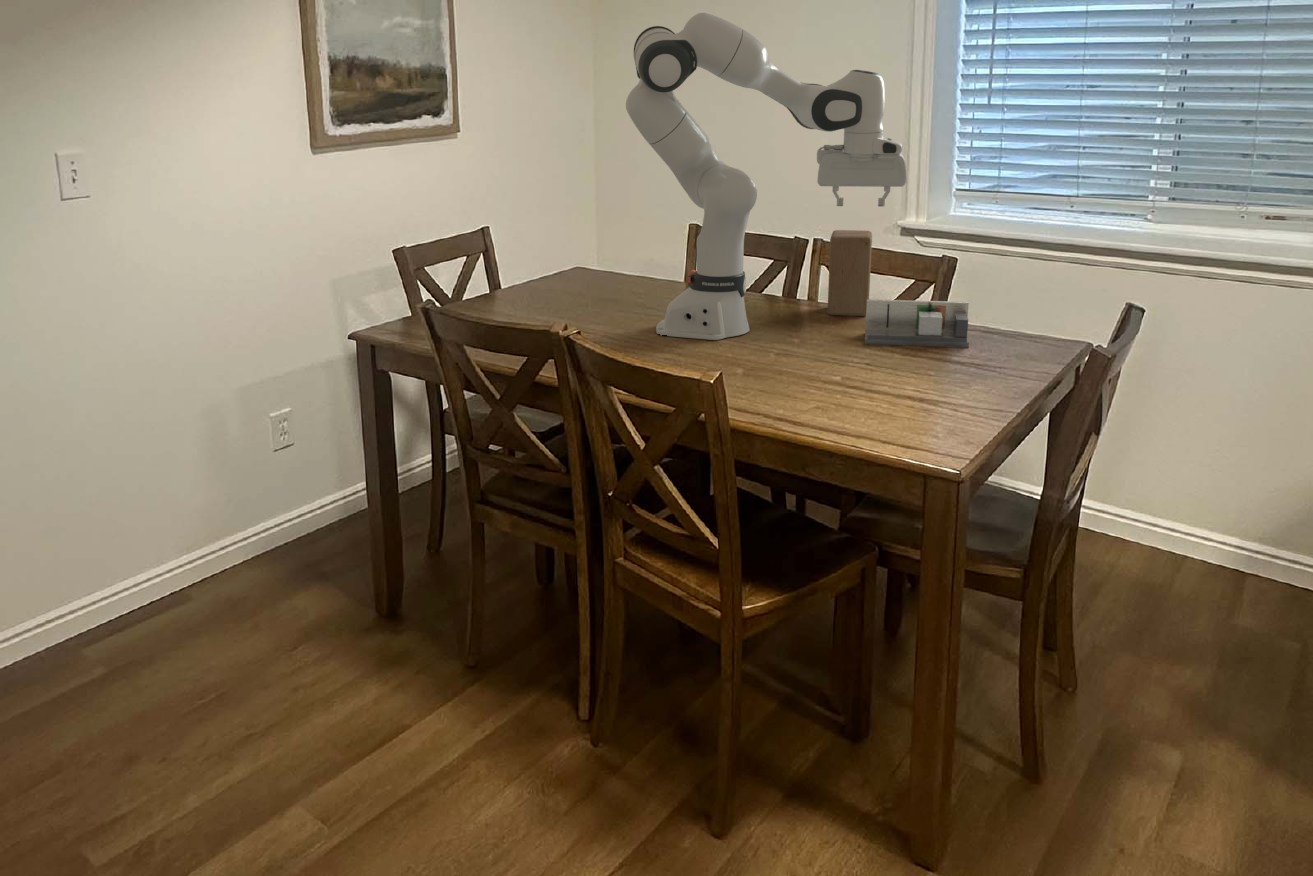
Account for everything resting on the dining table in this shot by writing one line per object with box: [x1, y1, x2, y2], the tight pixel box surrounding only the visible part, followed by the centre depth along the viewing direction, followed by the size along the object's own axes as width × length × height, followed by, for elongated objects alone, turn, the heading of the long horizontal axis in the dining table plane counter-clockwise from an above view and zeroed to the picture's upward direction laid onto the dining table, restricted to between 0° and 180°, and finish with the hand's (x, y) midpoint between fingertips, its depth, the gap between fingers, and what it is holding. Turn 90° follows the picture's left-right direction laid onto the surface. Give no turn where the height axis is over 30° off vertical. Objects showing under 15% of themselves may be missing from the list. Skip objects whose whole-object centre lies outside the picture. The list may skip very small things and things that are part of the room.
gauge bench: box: [864, 298, 970, 349], centre depth 258 cm, size 23×10×8 cm, turn 79°
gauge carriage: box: [918, 304, 942, 337], centre depth 257 cm, size 5×7×6 cm
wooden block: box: [827, 229, 873, 317], centre depth 282 cm, size 10×10×20 cm
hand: (860, 205), depth 261 cm, fingers open, 8 cm apart
